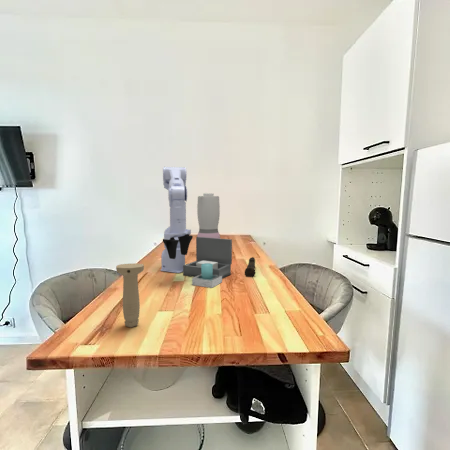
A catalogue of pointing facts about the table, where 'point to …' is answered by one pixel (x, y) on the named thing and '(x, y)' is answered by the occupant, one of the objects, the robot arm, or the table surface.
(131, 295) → the handle
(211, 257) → the case
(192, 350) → the table surface
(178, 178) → the robot arm
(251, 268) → the hand tool
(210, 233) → the blender
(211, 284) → the white square frame
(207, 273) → the teal cylinder
